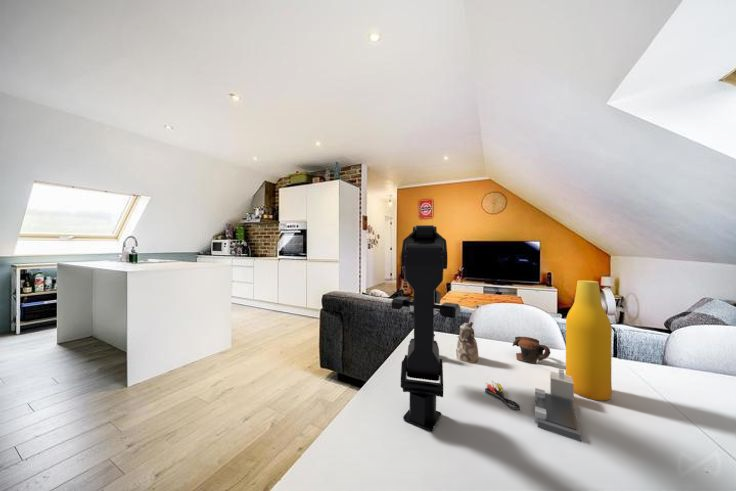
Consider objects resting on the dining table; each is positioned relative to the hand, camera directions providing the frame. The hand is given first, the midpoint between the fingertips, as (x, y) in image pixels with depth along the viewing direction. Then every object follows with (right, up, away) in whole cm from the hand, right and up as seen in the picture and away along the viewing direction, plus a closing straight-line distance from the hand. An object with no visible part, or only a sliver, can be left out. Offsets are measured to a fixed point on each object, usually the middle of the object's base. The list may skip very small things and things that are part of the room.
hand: (423, 336), depth 72 cm
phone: (+26, -12, -15) cm, 33 cm away
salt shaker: (+5, -13, +15) cm, 21 cm away
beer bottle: (+42, -13, -5) cm, 44 cm away
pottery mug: (+40, -13, +14) cm, 44 cm away
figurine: (+18, -13, +14) cm, 26 cm away
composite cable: (+17, -13, -9) cm, 23 cm away
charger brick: (+33, -12, -8) cm, 36 cm away
